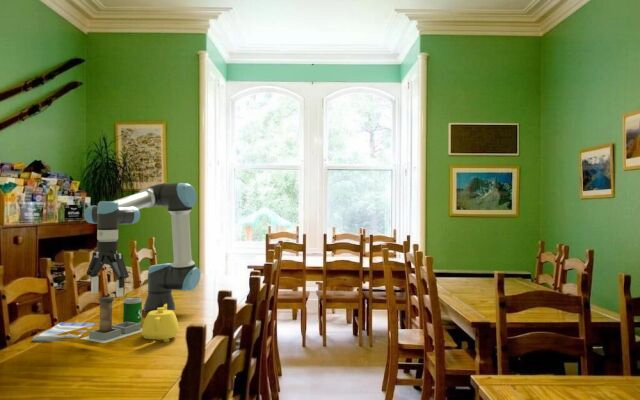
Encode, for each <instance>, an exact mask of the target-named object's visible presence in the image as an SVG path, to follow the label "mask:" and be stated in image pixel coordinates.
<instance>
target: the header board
mask: <svg viewBox="0 0 640 400" xmlns="http://www.w3.org/2000/svg"><path fill="white" fill-rule="evenodd" d="M141 325H142V323H133V322H127V321H126V322H123V321H122V322H121V323H116V324H112V331H110V332H107V333H101V332H99V328H97V329H93V330H90V331H88V332H89V333H88V335H87V336H84V337H81V338H79V339H80V340H84V341H90V342H95V343H96V342H97V343H102V344H106V343H109V342H112V341H115V340H119V339H123V338H126V337H128V336H132V335H135V334H138V333H142V327H141Z"/></svg>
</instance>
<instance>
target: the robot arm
mask: <svg viewBox="0 0 640 400" xmlns="http://www.w3.org/2000/svg"><path fill="white" fill-rule="evenodd" d="M196 203H197V193H196V190H195V188H194V187H193V185H192V184H189V183H184V182H174V183H173V182H172V183H171V182H167V183H166V182H165V183H163V182H162V183H157V184H153V185H150V186H148V187H145V188H142V189H140V190H139V191H138V192H136V193H134V194H131V195H127V196H124V197H122V198H118V199H115V200H113V201H104V200H102V201H99V202H98V203H97V205H89V206H87V207H86V208H85V210H84V213H83V217H84V220H85V221H86V223H88V224H94V225H97V228H96V230H97V232H96V233H97V234H96V235H97V236H96V239H97V242H96V251H93V252H92V256H91V257H92V258H91V260H90V263H89V266H88V268H87V269H86V270H87V271H86V275H87V276H89V277H90V288H91V291H90V293H91V294H92V295H93V294H98V293H99V273H100V271H101V270H102V268H103V267H104V265H107V266H110V267H111V269H112V271H113V272H114V274H115V276H116V280H115V281H116V283H115V285H116V286H115V287H116V288H115V296H116V298H119V297H123V296H124V288H125V280H126V279H127V278H130V277H129V276H130V275H129V273H128V269H127V267H126V263H125V261H124V256H123V253H117V251H118V250H119V241H118V240H119V225H133V224H136V223H138V222H139V221H140V218H141V212H140V210H141V209H144V208H145V209H149V208H153V207H167V213H169V214H170V216H171V217H170V219H171V234H172V237H171V238H172V249H173V250H172V254H173V262H171V263H170V262H168V263H160V264H153V265H150V266H149V267H148V272H147V295H146V299H145V302H144V304H143V311H144V312H147V313H149V312H150V311H154V310H157V308H160V307H163V306H164V304H167V310H172V311H174V310H175V309H176V304H175V301H174V296H173V291H183V292H187V291H189V292H190V291H193V290H195V289H196V288H197V286H198V285H199V284H200V283H199V282H200V280H201V271H200V268H198V267H197V266H196V263H195V261H194V260H193V258H192V242H191V241H192V240H191V226H190V225H191V224H190V222H191V221H190V213H191V211H192V210H193V207H194V206H195V205H196Z"/></svg>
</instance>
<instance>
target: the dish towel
mask: <svg viewBox="0 0 640 400" xmlns="http://www.w3.org/2000/svg"><path fill="white" fill-rule="evenodd" d="M97 325H99V322H98V323H97V322H63V321H61V322H59V323H57V324H55V325H54V326H53V327H51V328H50V329H47V330H45V331H43V332H41V333H39V334H35V336H33V337H32V339H31V341H33V342H67V340H66V339H78V338H79V337H81V336H82V335H83V334H84V333H86V332H88V330H89V329H92V328H93V327H92V326H97ZM82 328H86V329H88V330H85V329H84V330H78V329H82ZM74 330H77V332H78V333H79V332H80V334H78V335H76V334H71V333H67V332H71V331H74ZM63 333H67V334H63ZM59 334H63V335H59Z"/></svg>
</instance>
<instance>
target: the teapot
mask: <svg viewBox="0 0 640 400" xmlns="http://www.w3.org/2000/svg"><path fill="white" fill-rule="evenodd" d="M142 323H143V324H142V327H141V328H142V332H141V335H142V337H143V339H145V340H151V341H148V342H147V343H149V344H151V342H152V343H154V342H155V340H163V341H162V342H163V343H169V341H170V342H171V340H170V339H171V338H174V337H175V336H177V333H178V331H179V322H178V319H177V315H176V313H175V311H174V310H167V304H164V306H163V307H160V308H157V310H154V311H150V312H147V315H146V317H145V319H144V321H143V322H142Z"/></svg>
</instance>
